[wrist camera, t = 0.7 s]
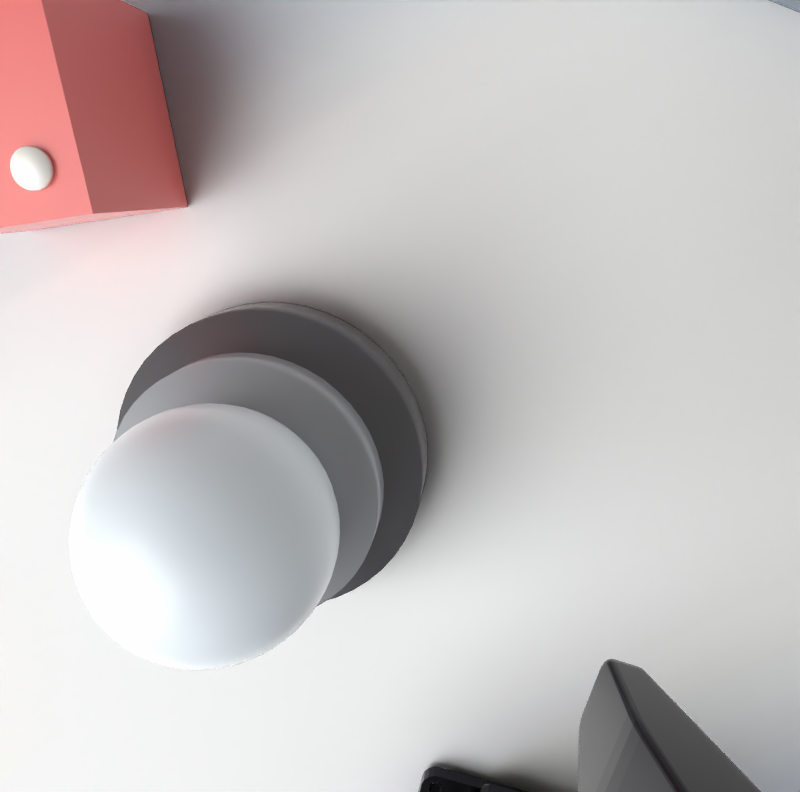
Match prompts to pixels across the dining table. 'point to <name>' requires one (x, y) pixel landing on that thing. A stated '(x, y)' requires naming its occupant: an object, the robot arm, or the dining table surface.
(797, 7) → the game board
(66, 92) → the red die
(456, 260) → the dining table surface
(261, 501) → the dome popper
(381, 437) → the base
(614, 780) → the robot arm
